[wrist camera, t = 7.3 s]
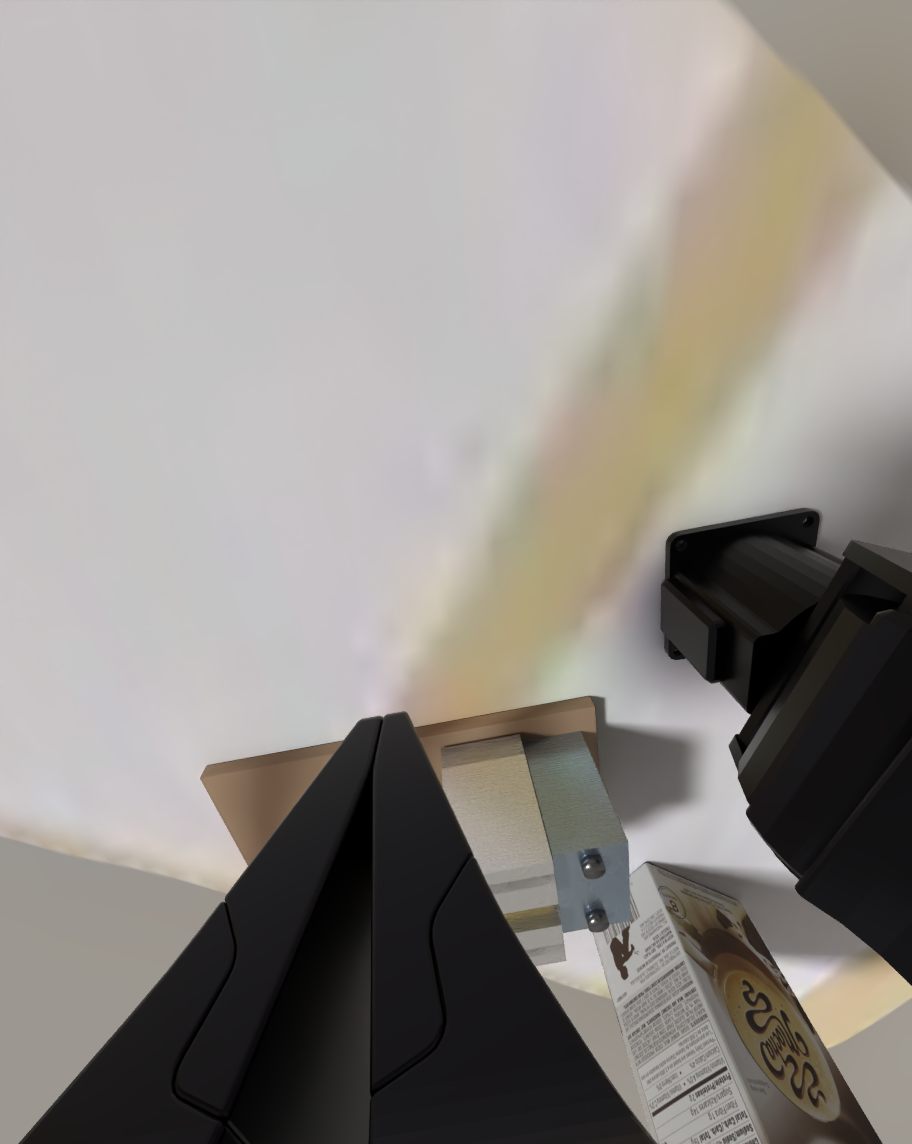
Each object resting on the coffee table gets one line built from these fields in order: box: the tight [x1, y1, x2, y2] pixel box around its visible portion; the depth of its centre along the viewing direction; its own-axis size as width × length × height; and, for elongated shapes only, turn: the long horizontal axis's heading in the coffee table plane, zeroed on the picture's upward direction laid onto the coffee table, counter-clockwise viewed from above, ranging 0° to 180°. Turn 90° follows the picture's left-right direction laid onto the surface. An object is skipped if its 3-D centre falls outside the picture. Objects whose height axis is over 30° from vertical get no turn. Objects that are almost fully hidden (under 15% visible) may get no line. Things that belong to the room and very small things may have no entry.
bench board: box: [200, 696, 599, 866], centre depth 26 cm, size 20×8×1 cm, turn 100°
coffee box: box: [593, 863, 882, 1144], centre depth 25 cm, size 9×6×16 cm
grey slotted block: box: [441, 734, 566, 966], centre depth 22 cm, size 4×7×7 cm, turn 10°
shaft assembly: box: [522, 731, 631, 933], centre depth 22 cm, size 13×5×6 cm, turn 100°
